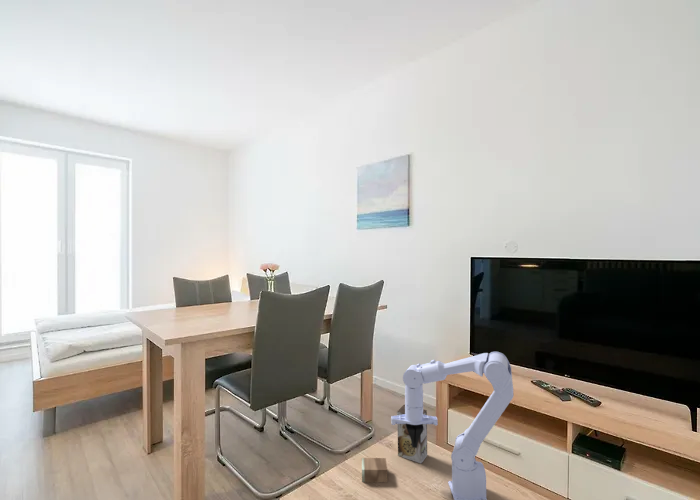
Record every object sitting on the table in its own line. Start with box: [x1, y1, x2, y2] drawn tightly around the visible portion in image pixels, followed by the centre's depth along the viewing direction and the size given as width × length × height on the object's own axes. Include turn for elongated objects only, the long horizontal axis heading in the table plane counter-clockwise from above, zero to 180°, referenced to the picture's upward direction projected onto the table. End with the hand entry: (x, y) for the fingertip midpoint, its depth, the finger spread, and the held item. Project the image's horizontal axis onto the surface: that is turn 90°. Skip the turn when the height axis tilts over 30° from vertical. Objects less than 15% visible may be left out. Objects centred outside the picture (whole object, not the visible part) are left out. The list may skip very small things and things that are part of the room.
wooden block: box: [361, 457, 388, 483], centre depth 111 cm, size 4×6×8 cm
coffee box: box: [396, 404, 428, 464], centre depth 122 cm, size 9×6×16 cm
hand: (414, 445), depth 110 cm, fingers closed
